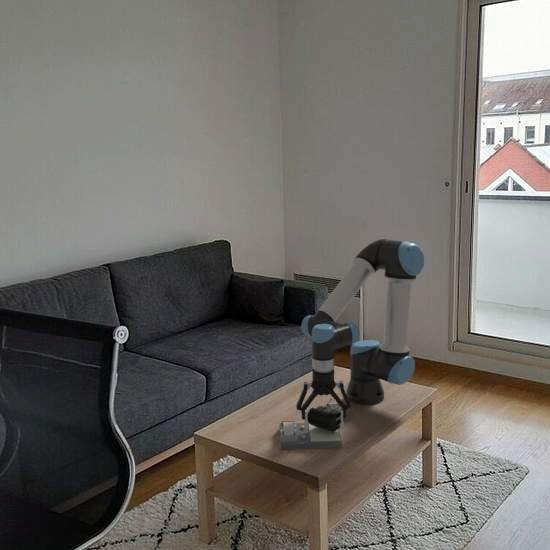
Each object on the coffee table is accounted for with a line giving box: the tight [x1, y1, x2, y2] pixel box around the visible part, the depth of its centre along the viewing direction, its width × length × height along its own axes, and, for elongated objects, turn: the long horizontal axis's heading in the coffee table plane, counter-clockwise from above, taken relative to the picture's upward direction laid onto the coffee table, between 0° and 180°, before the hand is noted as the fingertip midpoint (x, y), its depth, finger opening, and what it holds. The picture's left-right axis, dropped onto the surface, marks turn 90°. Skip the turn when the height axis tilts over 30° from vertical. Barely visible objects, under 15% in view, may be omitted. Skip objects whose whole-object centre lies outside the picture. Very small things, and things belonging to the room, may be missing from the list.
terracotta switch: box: [282, 416, 294, 422], centre depth 237 cm, size 4×4×4 cm
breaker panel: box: [279, 419, 343, 450], centre depth 234 cm, size 21×16×4 cm
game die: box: [323, 398, 341, 421], centre depth 246 cm, size 9×8×10 cm
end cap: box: [307, 405, 341, 432], centre depth 233 cm, size 10×7×7 cm
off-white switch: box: [283, 422, 294, 436], centre depth 230 cm, size 4×4×4 cm
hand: (323, 427), depth 234 cm, fingers closed on end cap, 12 cm apart
